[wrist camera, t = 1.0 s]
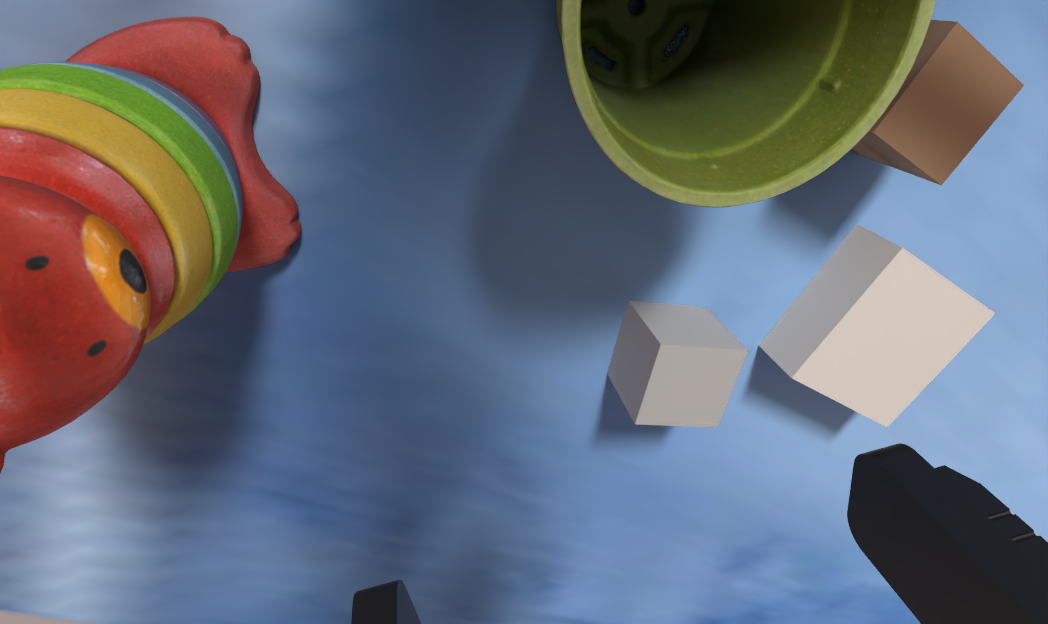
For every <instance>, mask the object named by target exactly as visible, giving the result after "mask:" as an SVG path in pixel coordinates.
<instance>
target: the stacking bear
mask: <svg viewBox="0 0 1048 624" xmlns="http://www.w3.org/2000/svg"><path fill="white" fill-rule="evenodd" d="M259 85H260V76H259V72H258V70H257V68H256V66H255V65H254V64H253V63H252V61H251V58H250V49H249V47H248V45H247V44H246V43H245V42H244V41H243V40H242V39H241V38H239V37H237V36H234V35H231V34H230V33H229V32H228V31H227V30H226V28H225V27H224V26H223V25H221V24H220V23H218V22H216V21H214V20H211V19H207V18H203V17H179V18H168V19H160V20H154V21H149V22H144V23H140V24H136V25H132V26H129V27H127V28H124V29H121V30H119V31H116V32H113V33H111V34H109V35H106V36H104V37H102V38H100V39H98V40H96V41H94V42H92V43H91V44H89V45H87V46H85V47H84V48H82V49H81V50H79V51H78V52H77V53H75V54H74V55H72V56H71V57H70V58H69V59H67V60H66V61H65V62H48V63H35V64H29V65H23V66H18V67H13V68H7V69H4V70H0V472H1V470H2V468H3V465H4V457H5V453H6V452H7V451H8V450H9V449H11V448H14V447H17V446H19V445H22V444H25V443H28V442H31V441H33V440H36V439H38V438H41V437H43V436H46V435H48V434H50V433H52V432H54V431H56V430H58V429H59V428H61V427H63V426H65V425H67V424H69V423H70V422H72V421H74V420H75V419H76V418H78V417H79V416H81V415H82V414H84V413H85V412H86V411H88V410H89V409H90V408H92V407H93V406H94V405H95V404H97V403H98V402H99V401H101V400H102V399H103V398H104V397H105V396H106V395H107V394H108V393H109V392H110V391H112V390H113V389H114V388H115V387H116V386H117V384H118V383H119V382H120V381H121V380H122V379H123V378H124V377H125V376H126V374H127V373H128V371H129V370H130V368H131V367H132V365H133V364H134V362H135V361H136V359H137V357H138V355H139V353H140V351H141V349H142V347H143V345H145V344H147V343H148V342H150V341H152V340H153V339H155V338H156V337H158V336H159V335H161V334H162V333H163V332H165V331H166V330H168V329H169V328H170V327H172V326H173V325H174V324H175V323H177V322H178V321H180V320H181V319H183V318H184V317H185V316H186V315H188V314H189V313H190V312H192V311H193V310H194V309H195V308H196V307H197V306H198V305H199V304H200V303H201V302H202V301H203V300H204V299H205V298H206V297H207V296H208V295H209V294H210V293H211V292H212V290H213V289H214V288H215V287H216V286H217V284H218V283H219V282H220V280H221V279H222V277H223V276H224V274H225V272H232V271H240V270H247V269H252V268H257V267H261V266H265V265H269V264H272V263H274V262H277V261H279V260H281V259H282V258H284V257H285V256H286V255H287V254H288V253H289V251H290V249H291V244H292V243H293V242H295V241H296V240H297V239H298V238H299V236H300V234H301V225H300V222H299V221H298V219H297V215H298V210H299V209H298V206H297V204H296V201H295V200H294V198H293V197H292V196H291V194H290V193H289V192H288V191H287V190H286V189H285V188H283V187H282V186H281V185H280V184H279V183H278V182H277V181H276V180H275V179H274V178H273V177H272V175H271V174H270V172H269V171H268V170H267V168H266V167H265V165H264V164H263V162H262V160H261V158H260V156H259V154H258V152H257V149H256V145H255V141H254V137H253V130H252V116H253V110H254V106H255V102H256V99H257V96H258V92H259Z"/></svg>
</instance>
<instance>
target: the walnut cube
mask: <svg viewBox="0 0 1048 624" xmlns="http://www.w3.org/2000/svg"><path fill="white" fill-rule="evenodd" d="M1023 86H1024V85H1023V84H1022V83H1021V82H1020V81H1019V80H1018V79H1017V78H1016V77H1015V76H1014V75H1013V74H1011V73H1010V72H1009V71H1008V70H1007V69H1006V68H1005V67H1004V66H1003V65H1002V64H1001V63H1000V62H999V61H998V60H997V59H996V58H995V57H994V56H993V55H992V54H991V53H990V52H988V51H987V50H986V49H985V48H984V47H983V46H982V45H981V44H980V43H979V42H978V41H977V40H976V39H975V38H974V37H973V36H972V35H971V34H970V33H969V32H968V31H967V30H966V29H964V28H963V27H962V26H961V25H960V24H959V23H958V22H952V21H939V20H930V23H929V26H928V29H927V32H926V35H925V38H924V41H923V43H922V46H921V48H920V50H919V52H918V54H917V57H916V59H915V62H914V64H913V66H912V68H911V70H910V72H909V74H908V75H907V77H906V79H905V81H904V82H903V84H902V86H901V88H900V90H899V91H898V93H897V94H896V96H895V97H894V99H893V100H892V101H891V103H890V104H889V106H888V107H887V109H886V110H885V112H884V113H883V114H882V115H881V117H880V118H879V119H878V120H877V122H876V123H875V124H874V125H873V127H872V128H871V129H870V130H869V131H868V132H867V133H866V135H865V136H864V137H863V138H862V139H861V140H860V141H859V142H858V143H857V144H856V145H855V146H854V147H853V148H852V150H853V151H854V152H856V153H857V154H859V155H862V156H865V157H867V158H870V159H873V160H875V161H878V162H881V163H883V164H886V165H889V166H891V167H894V168H897V169H899V170H902V171H905V172H907V173H910V174H913V175H915V176H918V177H921V178H923V179H926V180H929V181H931V182H934V183H937V184H939V185H942V184H943V183H944V182H945V180H946V179H947V178H948V177H949V176H950V174H951V173H952V172H953V171H954V170H955V168H956V167H957V166H958V165H959V163H960V162H961V161H962V160H963V159H964V157H965V156H966V155H967V154H968V153H969V151H970V150H971V149H972V148H973V147H974V145H975V144H976V143H977V142H978V140H979V139H980V138H981V137H982V136H983V134H984V133H985V132H986V131H987V130H988V128H989V127H990V126H991V125H992V124H993V122H994V121H995V120H996V119H997V118H998V116H999V115H1000V114H1001V113H1002V111H1003V110H1004V109H1005V108H1006V107H1007V105H1008V104H1009V103H1010V102H1011V101H1012V99H1013V98H1014V97H1015V96H1016V95H1017V93H1018V92H1019V91H1020V90H1021V88H1022V87H1023Z"/></svg>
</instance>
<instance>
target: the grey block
mask: <svg viewBox="0 0 1048 624" xmlns="http://www.w3.org/2000/svg"><path fill="white" fill-rule="evenodd" d="M747 352H748V350H747V349H746V348H745V347H744V346H743V345H742V344H741V343H740V341H739V340H738V339H737V338H736V337H735V336H734V335H733V334H732V333H731V332H730V331H729V330H728V329H727V328H726V327H725V326H724V325H723V324H722V323H721V322H720V321H719V320H718V319H717V318H716V317H715V315H714V314H713V313H712V312H711V311H710V310H709V309H708V308H707V307H699V306H687V305H676V304H665V303H653V302H642V301H631V300H628V303H627V306H626V310H625V313H624V317H623V320H622V324H621V327H620V331H619V334H618V338H617V341H616V345H615V348H614V352H613V355H612V359H611V362H610V366H609V369H608V373H607V375H608V376H609V378H610V380H611V382H612V384H613V386H614V387H615V389H616V391H617V393H618V395H619V396H620V398H621V400H622V402H623V404H624V406H625V407H626V409H627V411H628V413H629V415H630V416H631V418H632V420H633V422H634V424H636V425H665V426H694V427H718V425H719V423H720V420H721V418H722V415H723V413H724V410H725V408H726V405H727V402H728V400H729V397H730V395H731V392H732V390H733V387H734V385H735V382H736V380H737V377H738V375H739V372H740V370H741V367H742V365H743V362H744V360H745V357H746V355H747Z"/></svg>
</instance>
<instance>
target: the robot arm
mask: <svg viewBox="0 0 1048 624" xmlns="http://www.w3.org/2000/svg"><path fill="white" fill-rule="evenodd" d="M847 517H848V523H849V527H850V530H851V532H852V535H853V537H854V539H855V541H856V543H857V544H858V546H859V547H860V549H861V550H862V551H863V553H864V554H865V555H866V556H867V558H868V559H869V560H870V561H871V562H872V564H873V565H874V566H875V567H876V569H877V570H878V571H879V572H880V574H881V575H882V576H883V577H884V578H885V580H886V581H887V582H888V583H889V585H890V586H891V587H892V588H893V590H894V591H895V592H896V593H897V595H898V596H899V597H900V598H901V599H902V601H903V602H904V603H905V604H906V606H907V607H908V608H909V609H910V611H911V612H912V613H913V614H914V615H915V617H916V618H917V619H918V620H919V622H920V623H921V624H1048V542H1047V541H1045V540H1044V539H1043V538H1042V537H1041V536H1036V535H1035V534H1034V530H1033V529H1032V528H1031V527H1029V526H1028V525H1027V524H1026V523H1025V522H1024V521H1023V520H1021V519H1020V518H1019V517H1018V516H1017V515H1016V514H1014V515H1012V514H1011V513H1010V510H1009V508H1008V507H1006V506H1005V505H1004V504H1003V503H1002V502H1001V501H1000V500H998V499H997V498H996V497H995V496H994V495H993V494H992V493H990V492H989V491H988V490H987V489H986V488H985V487H984V486H982V485H981V484H980V483H978V482H976V481H974V480H972V479H970V478H968V477H966V476H964V475H962V474H960V473H958V472H956V471H954V470H953V469H951V468H949V467H947V466H945V465H944V466H941V467H937V468H933V467H932V466H931V465H930V464H929V463H928V462H927V461H926V460H925V459H924V458H923V457H921V456H920V455H919V454H918V453H917V452H916V451H915V450H914V449H912V448H911V447H909V446H907V445H905V444H895V445H892V446H888V447H885V448H881V449H877V450H874V451H870V452H867V453H863V454H860V455H858V456H857V457H856V458H855V461H854V466H853V474H852V481H851V489H850V496H849V504H848V512H847ZM352 624H421V622H420V620H419V618H418V615H417V613H416V611H415V608H414V606H413V604H412V601H411V599H410V597H409V594H408V592H407V590H406V587H405V585H404V583H403V581H402V580H397V581H393V582H390V583H386V584H382V585H379V586H375V587H371V588H368V589H364V590H361V591H357V592H356V593H355V595H354V599H353V607H352Z"/></svg>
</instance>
